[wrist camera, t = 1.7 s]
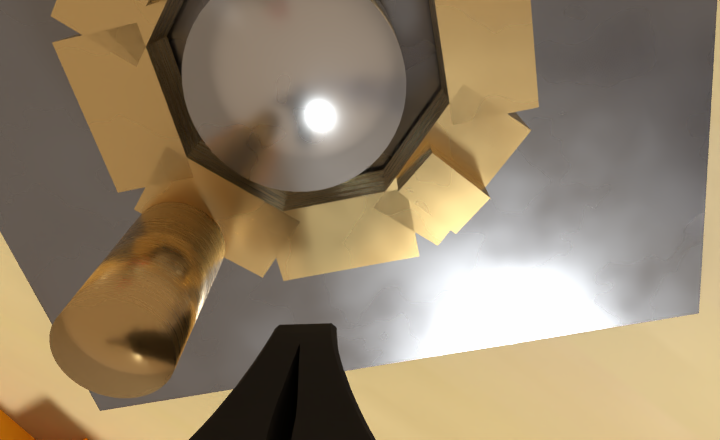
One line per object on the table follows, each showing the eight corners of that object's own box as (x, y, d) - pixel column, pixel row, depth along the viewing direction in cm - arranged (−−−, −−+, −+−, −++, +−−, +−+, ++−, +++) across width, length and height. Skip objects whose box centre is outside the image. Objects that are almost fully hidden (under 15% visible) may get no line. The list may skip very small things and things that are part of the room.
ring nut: (492, -251, 11) (599, -410, 6) (533, 208, 16) (615, 338, 11) (9, -121, 12) (-246, -165, 7) (174, 274, 17) (91, 422, 12)
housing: (722, -642, 10) (924, -970, 6) (682, 295, 19) (759, 380, 15) (-268, -322, 12) (-540, -434, 8) (111, 390, 21) (57, 485, 17)
